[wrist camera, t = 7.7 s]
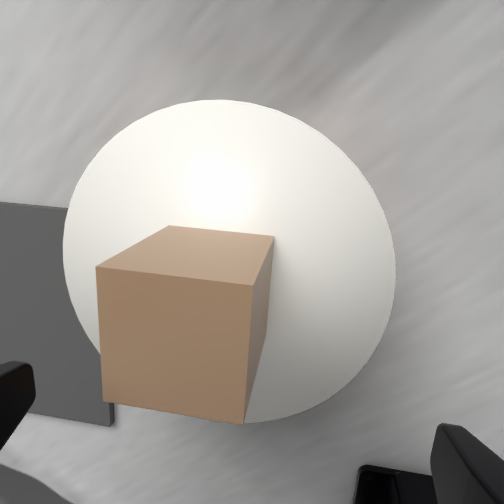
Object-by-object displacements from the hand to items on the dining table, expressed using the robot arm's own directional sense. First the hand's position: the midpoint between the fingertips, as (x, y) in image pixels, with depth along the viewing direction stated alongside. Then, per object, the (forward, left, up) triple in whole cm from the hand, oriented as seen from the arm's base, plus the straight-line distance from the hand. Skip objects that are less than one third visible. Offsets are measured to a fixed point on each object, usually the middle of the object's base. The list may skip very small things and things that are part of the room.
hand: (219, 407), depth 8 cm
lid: (0, +2, -7) cm, 8 cm away
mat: (-6, +17, -12) cm, 22 cm away
